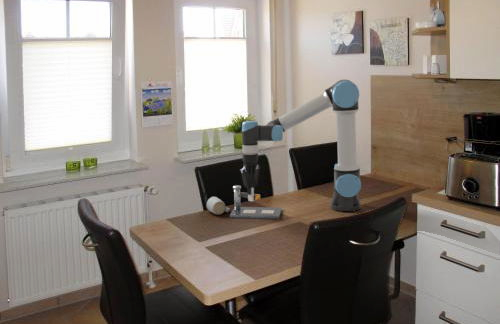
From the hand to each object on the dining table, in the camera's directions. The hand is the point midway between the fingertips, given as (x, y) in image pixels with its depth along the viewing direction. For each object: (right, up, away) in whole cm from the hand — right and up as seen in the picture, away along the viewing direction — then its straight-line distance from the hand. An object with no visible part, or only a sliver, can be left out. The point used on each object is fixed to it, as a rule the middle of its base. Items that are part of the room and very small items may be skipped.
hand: (251, 200), depth 254 cm
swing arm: (0, +1, +2) cm, 2 cm away
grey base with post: (+3, -7, +3) cm, 8 cm away
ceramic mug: (-16, -7, +7) cm, 19 cm away
